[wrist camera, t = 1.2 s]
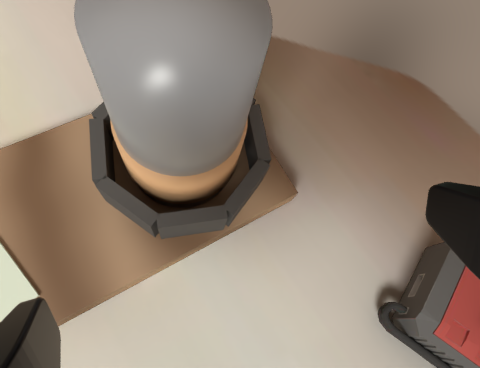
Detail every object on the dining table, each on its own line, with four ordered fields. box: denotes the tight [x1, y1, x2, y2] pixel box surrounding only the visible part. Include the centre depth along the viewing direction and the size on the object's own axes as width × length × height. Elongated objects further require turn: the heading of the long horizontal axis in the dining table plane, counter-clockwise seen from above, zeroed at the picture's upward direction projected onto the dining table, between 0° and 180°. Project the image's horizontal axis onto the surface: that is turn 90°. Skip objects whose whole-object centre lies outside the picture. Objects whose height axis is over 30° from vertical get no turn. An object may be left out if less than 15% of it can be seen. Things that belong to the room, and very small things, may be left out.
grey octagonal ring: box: [89, 98, 271, 239], centre depth 20 cm, size 10×10×2 cm
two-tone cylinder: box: [74, 0, 272, 208], centre depth 16 cm, size 6×6×11 cm
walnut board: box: [0, 114, 298, 326], centre depth 20 cm, size 25×10×2 cm, turn 120°
